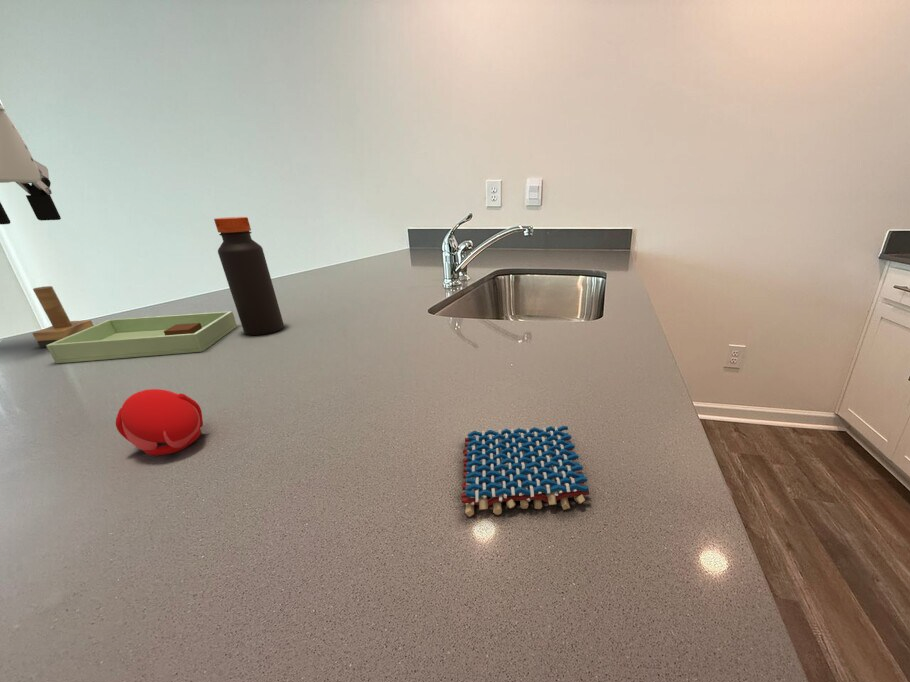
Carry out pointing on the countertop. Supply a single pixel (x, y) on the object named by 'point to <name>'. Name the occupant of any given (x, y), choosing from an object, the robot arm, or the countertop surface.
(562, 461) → the woven mat
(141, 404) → the cap
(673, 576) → the countertop surface
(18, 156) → the robot arm
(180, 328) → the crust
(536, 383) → the countertop surface
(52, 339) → the brush
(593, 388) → the countertop surface
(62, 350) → the tray
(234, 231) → the bottle
